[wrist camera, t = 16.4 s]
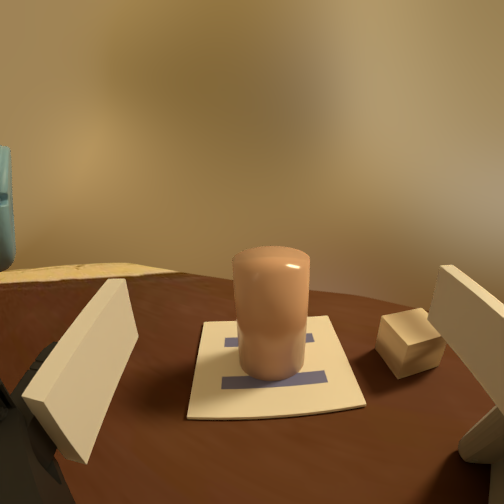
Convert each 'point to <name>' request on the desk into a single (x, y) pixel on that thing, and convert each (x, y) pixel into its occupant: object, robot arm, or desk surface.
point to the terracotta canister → (271, 310)
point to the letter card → (271, 392)
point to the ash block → (409, 342)
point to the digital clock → (487, 450)
